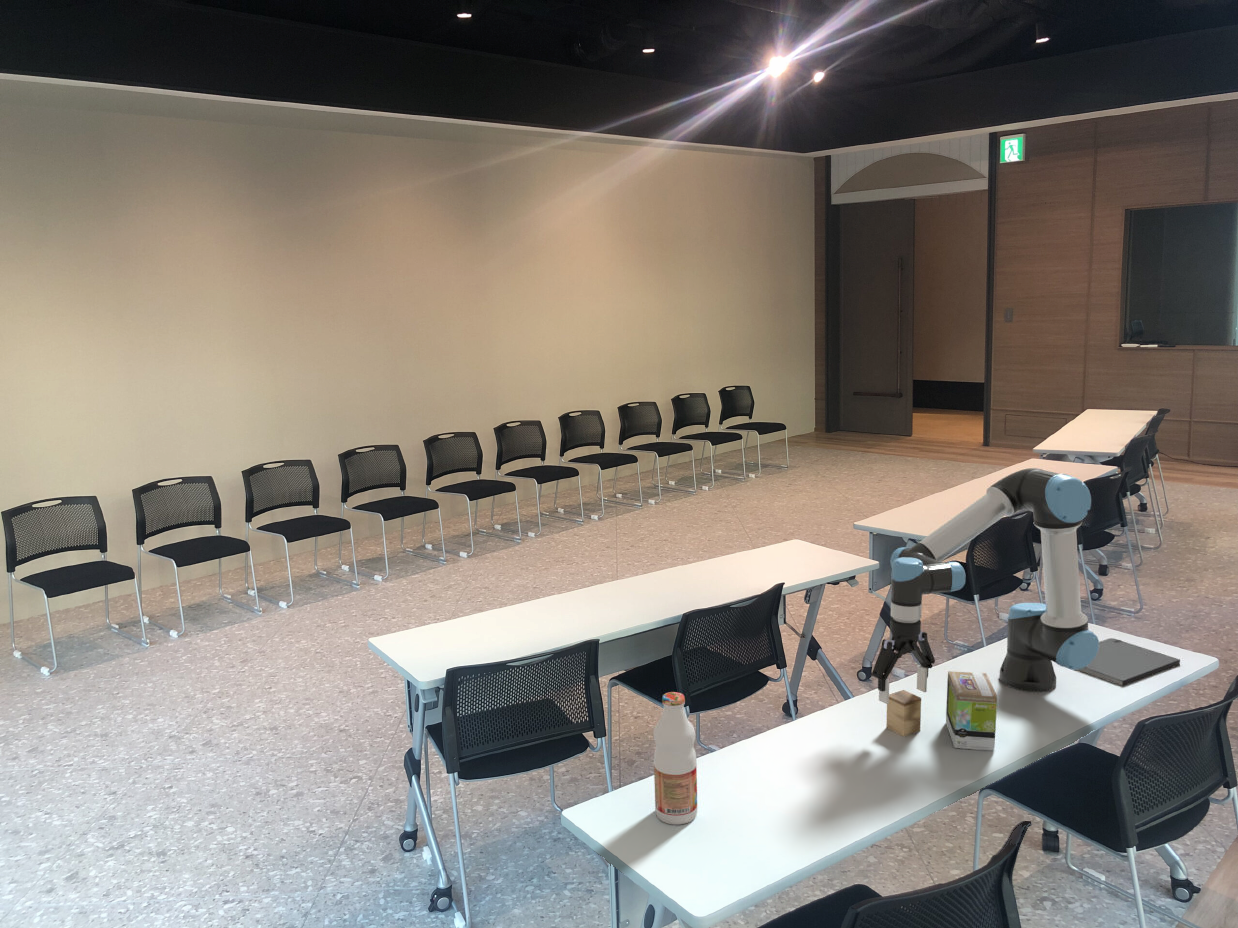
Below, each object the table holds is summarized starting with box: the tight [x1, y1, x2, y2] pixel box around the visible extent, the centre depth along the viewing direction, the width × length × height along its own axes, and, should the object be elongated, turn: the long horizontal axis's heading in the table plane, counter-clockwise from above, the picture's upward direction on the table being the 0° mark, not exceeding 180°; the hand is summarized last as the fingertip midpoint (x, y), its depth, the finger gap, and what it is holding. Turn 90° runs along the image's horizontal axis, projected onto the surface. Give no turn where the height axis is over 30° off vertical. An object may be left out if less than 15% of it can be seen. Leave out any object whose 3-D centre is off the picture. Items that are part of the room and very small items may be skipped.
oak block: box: [886, 689, 922, 737], centre depth 240 cm, size 6×6×9 cm
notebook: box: [1077, 637, 1181, 687], centre depth 277 cm, size 22×2×28 cm
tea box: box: [945, 670, 998, 751], centre depth 234 cm, size 15×10×15 cm, turn 168°
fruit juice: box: [653, 691, 698, 826], centre depth 202 cm, size 9×9×28 cm
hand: (902, 696), depth 239 cm, fingers open, 13 cm apart
